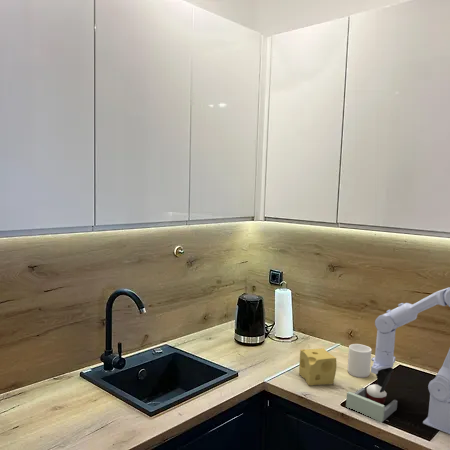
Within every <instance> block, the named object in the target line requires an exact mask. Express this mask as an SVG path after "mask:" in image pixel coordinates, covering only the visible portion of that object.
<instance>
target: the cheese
mask: <svg viewBox="0 0 450 450" xmlns="http://www.w3.org/2000/svg"><path fill="white" fill-rule="evenodd" d="M298 368H299V369H298V371H299V373H298V374H299V375H300V376H301V377H302V378H303V379H305V383H306V384H307V385H308V386H309V387H310V386H312V387H313V386H318V385H319V386H321V385H322V386H323V385H333V384H334V382H335V378H336V372H337V357H335V356H334V355H332V354H331V353H330V352H328V351H327V349H325V348H309V349H308V348H307V349H304V348H303V349H300V351H299V367H298Z"/></svg>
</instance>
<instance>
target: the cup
mask: <svg viewBox="0 0 450 450" xmlns="http://www.w3.org/2000/svg"><path fill="white" fill-rule="evenodd" d="M371 359H372V348H371V347H370V346H367V345H365V344H362V343H361V344H360V343H352V344H350V345H348V359H347V373H348V374H349V375H351V376H352V377H355V378H360V379H361V378H368V377H369V376H370V374H371V363H372V360H371Z"/></svg>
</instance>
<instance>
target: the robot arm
mask: <svg viewBox="0 0 450 450" xmlns="http://www.w3.org/2000/svg"><path fill="white" fill-rule="evenodd" d="M437 305H439V306H442V307H446V306H448V307H449V308H450V287H446V288H443V289H440V290H437V291H435V292H433V293H432V294H430V295H428V296H425V297H424V298H422V299H420V300H419V301H418V300H417V302H416V301H415V302H414V303H413V304H412V303H409V302H405V303H404V302H401V303H398V304H397V306H398V307H395V308H393V309H388V310H386V311H385V313H383V314H380V315H378V316H377V317H376V318H375V321H374V326H375V328H376V341H375V352H374V353H375V354H374V357H371V362H373V363H372V366H370V374H375V377H376V380H377V385H379V386H381V387H382V386H383V384H384V381H385V379H386V377H387V375H392V373H393V372H394V368H393V367H394V365H395V363H396V356H395V355H394V353H395V343H396V329H398V328H400V327H402V326H404V325H407V324H409V323H411V322H413V321H415V320H416V319H417V318H418V314H419V313H421V312H424V311H427V310H428V309H430V308H433V307H435V306H437ZM427 387H428V388H427V389H428V392H429V404H428V414H427V417H426V418H425V419H424V420H423V421H422V424H423V425H426V426H428V427H430V428H434V429H436V430H439V431H441V432H444V433H445V434H448V435H450V348H449V349H448V351H447V354H446V356H445V358H444V361H443V364H442V365H441V367H440V368H439V370H438V372H437V374H436V376H435V377H434V378H433V379H432V380H430V381H429V383H428V386H427Z"/></svg>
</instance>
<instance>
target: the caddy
mask: <svg viewBox="0 0 450 450" xmlns="http://www.w3.org/2000/svg"><path fill="white" fill-rule="evenodd" d="M345 407H347V409H349V408H350V409H349V410H351V409H353V410H355V411H354V412H356V411H357V412H356V413H358V412H360V413H362V414H361V415H363V414H364V415H363V416H365V415H366V416H365V417H367V416H369V417H368V418H370V417H371V418H370V419H372V420H374V419H375V421H377V422H380V423H383V422H384V421H385V420H386V419H388V418H389V417H390V416H391V415H392V414H393V413H394V412H396V411H397V408H398V400H397V399H393V400H392V401H391V402H390V403H388V404H386V405H384V404H383V405H382V404H380V403H377V402H375V401H372V400H370V399H367V397H366V388H365V387H362V388H360V389H358V390H357V391H356V392H352V391H347V392H346V401H345ZM353 410H352V411H353ZM360 413H359V414H360Z"/></svg>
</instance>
